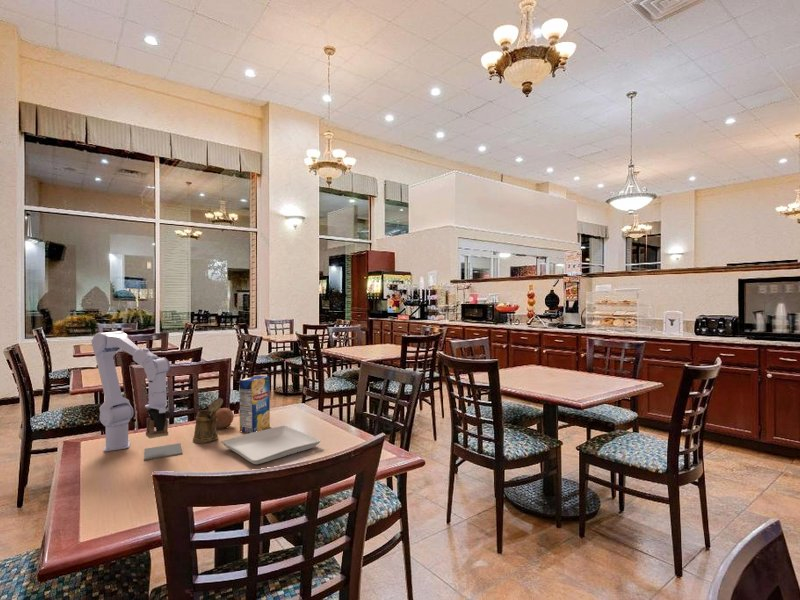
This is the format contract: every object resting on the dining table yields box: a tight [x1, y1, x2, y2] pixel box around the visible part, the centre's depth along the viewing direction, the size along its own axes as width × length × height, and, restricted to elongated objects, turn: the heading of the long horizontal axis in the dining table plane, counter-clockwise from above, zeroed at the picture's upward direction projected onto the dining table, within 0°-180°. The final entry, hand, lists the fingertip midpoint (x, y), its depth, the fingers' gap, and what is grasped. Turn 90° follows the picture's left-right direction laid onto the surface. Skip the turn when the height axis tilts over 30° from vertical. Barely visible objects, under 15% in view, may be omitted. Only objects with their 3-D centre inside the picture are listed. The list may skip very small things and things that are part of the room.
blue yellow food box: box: [238, 375, 271, 434], centre depth 185 cm, size 7×11×22 cm, turn 157°
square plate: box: [220, 425, 322, 465], centre depth 161 cm, size 27×27×4 cm
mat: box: [143, 442, 184, 461], centre depth 158 cm, size 12×12×1 cm
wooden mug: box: [192, 397, 224, 444], centre depth 170 cm, size 9×14×18 cm, turn 60°
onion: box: [216, 407, 234, 430], centre depth 187 cm, size 10×9×10 cm
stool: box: [145, 417, 169, 439], centre depth 157 cm, size 6×6×6 cm
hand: (157, 428), depth 157 cm, fingers closed on stool, 6 cm apart
